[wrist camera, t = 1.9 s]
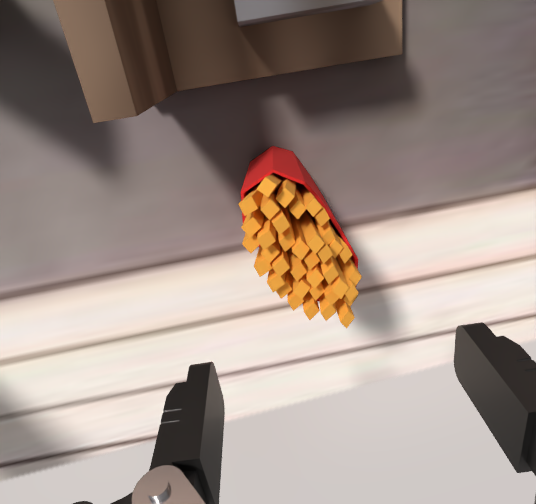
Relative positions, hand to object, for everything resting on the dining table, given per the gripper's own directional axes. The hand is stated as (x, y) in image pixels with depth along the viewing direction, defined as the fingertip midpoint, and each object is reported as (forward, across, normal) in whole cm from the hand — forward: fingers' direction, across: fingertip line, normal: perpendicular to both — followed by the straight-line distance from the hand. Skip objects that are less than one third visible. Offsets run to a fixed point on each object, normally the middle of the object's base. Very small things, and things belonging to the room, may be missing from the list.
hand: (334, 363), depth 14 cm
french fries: (+20, 0, 0) cm, 20 cm away
